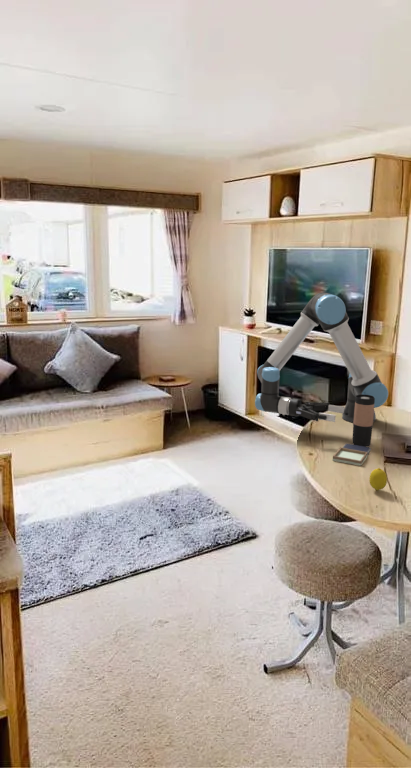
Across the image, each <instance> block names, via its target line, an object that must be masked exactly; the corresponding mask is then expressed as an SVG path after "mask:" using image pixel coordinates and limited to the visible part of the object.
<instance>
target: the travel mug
mask: <svg viewBox="0 0 411 768" xmlns="http://www.w3.org/2000/svg"><path fill="white" fill-rule="evenodd" d="M374 403H375V398H374V397H373V396H371V395H364V394H361V395H356V399H355V410H354V421H353V422H352V425H353V426H352V443H351V444H352V445H358V446H364V447H370V446H371V444H372V443H371V442H372V434H373V428H374V427H373V426H374V422H373V416H374V411H375V408H374Z"/></svg>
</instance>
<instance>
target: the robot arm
mask: <svg viewBox="0 0 411 768" xmlns="http://www.w3.org/2000/svg"><path fill="white" fill-rule="evenodd" d="M346 309H347V308H346V305H345V303H344V301H343V299H341V298H340V297H339V296H337V295H335V294H331V293H329V292H318V293H316V294H315V295H314V296H313V297H312V298H311V299H310V300H309V301H308V302H307V304H306V305H305V307H304V308H303V309H302V310H301V312H300V317H299V319H297V321H296V322H295V324H294V325H293V326H292V327H291V329H290V330H289V331H288V332H287V334H286V335H285V336H284V337H283V339H282V340H281V341H280V343H278V346H277V347H276V348H275V350H274V351H273V352H272V353H271V355H270V356H269V357H268V358H267V360H266V361H265V362H264V364H262V365H260V366H259V367H258V368H257V371H256V374H257V378H258V379H259V381H260V383H261V390H260V391H261V393H258V394H257V395H256V396H255V400H254V403H255V404H254V407H255V408H256V410H258V411H262V412H266V413H267V412H268V413H271V414H272V413H273V414H279V415H281V414H282V416H285V415H287V416H292V417H299V416H300V417H303V418H305V419H308V420H311V421H314V422H319V421H320V420H321V421H326V422H327V421H328V422H333V423H335V422H336V414H332V413H337V414H342V415H341V417H342V419H343V420H344V421H346V422H349V423H350V422H351V423H353V421H354V410H355V399H356V395H361V394H364V395H371V396H373V397H374V398H375V403H374V409H376V408H379V407H381V406H383V405H384V404H385V403H386V401H387V400H388V397H389V390H388V388H387V386H386V385H385V384H384V383H383V382H382V381H381V379H380V377H379V375H378V373H377V371H375V370H373V369H371V366H370V365H369V363H368V361H367V359H366V358H365V355H364V352H363V351H362V349H361V347H360V345H359V343H358V341H357V339H356V337H355V335H354V333H353V332H352V329H351V327H350V326H349V323H348V322H349V319H350V318H349V316H348V313H347V311H346ZM318 326H321V328H322V330H323V331H324V332H327V333H328V334H329V335H330V338H331V340H332V342H333V343H334V345H335V347H336V349H337V351H338V353H339V355H340V356H341V359H342V361H343V363H344V365H345V367H346V368H347V370H348V372H349V374H348V385H347V397H346V398H347V400H346V404H345V406H342V405H334V404H330V402H310V401H306V402H305V403H302V400H301V399H300V398H294V397H289V396H282V395H281V396H280V395H279V394H280V392H279V389H280V378H281V376H280V375H281V374H280V371H281V369H283V367H284V366H285V365H286V363H287V362H288V361H289V360H290V359H291V357H292V356H293V354H294V353H295V352H296V351H297V349H298V348H299V347H300V346H301V344H302V343H303V342H304V340H306V338H308V337H307V336H309V334H310V333H311V332H312V330H313V329H314V328H315V327H318ZM322 411H328V412H330V413H331V414H330V413H324V412H322ZM376 417H377V415H376V411H375V410H374V416H373V423H375V422H376Z"/></svg>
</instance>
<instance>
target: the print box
mask: <svg viewBox="0 0 411 768" xmlns="http://www.w3.org/2000/svg"><path fill="white" fill-rule="evenodd" d="M367 454H368V452H364V451H358V450H352V449H347V448H343V447H341V446H340V447H339V448H338V449H337V451H336V452H335V453H334V454H333V455H332V462H339V463H345V464H349V465H353V466H354V465H355V466H360V467H361V466H362V465H363V463H364V462H365V460H366V459H367V458H368V455H369V454H368V455H367Z"/></svg>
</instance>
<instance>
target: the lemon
mask: <svg viewBox="0 0 411 768" xmlns="http://www.w3.org/2000/svg"><path fill="white" fill-rule="evenodd" d="M387 476H388V475H387V473H386V472H385V470H383V469H382V468H380V467H378V468H375V469H373V470H371V472H370V475H369V480H368V481H369V485H370V487H371V488H373V489H374V490H375V491H376V492H379V491H381V490H383V489H385V487H386V485H387V483H388V477H387Z"/></svg>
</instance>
